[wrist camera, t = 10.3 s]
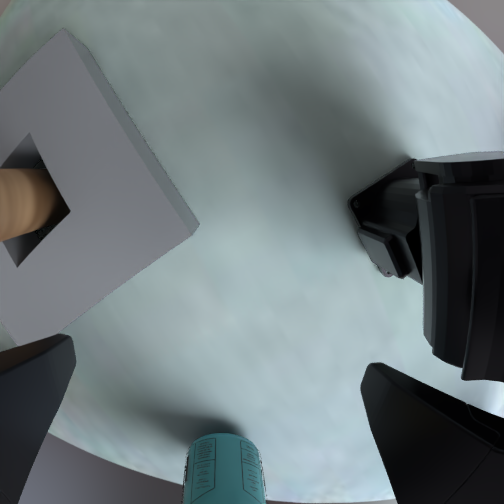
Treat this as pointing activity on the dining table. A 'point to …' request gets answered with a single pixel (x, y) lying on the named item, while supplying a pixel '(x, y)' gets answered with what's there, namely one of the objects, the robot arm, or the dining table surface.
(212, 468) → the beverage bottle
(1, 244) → the socket
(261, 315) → the dining table surface
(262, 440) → the dining table surface
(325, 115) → the dining table surface
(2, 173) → the peg
